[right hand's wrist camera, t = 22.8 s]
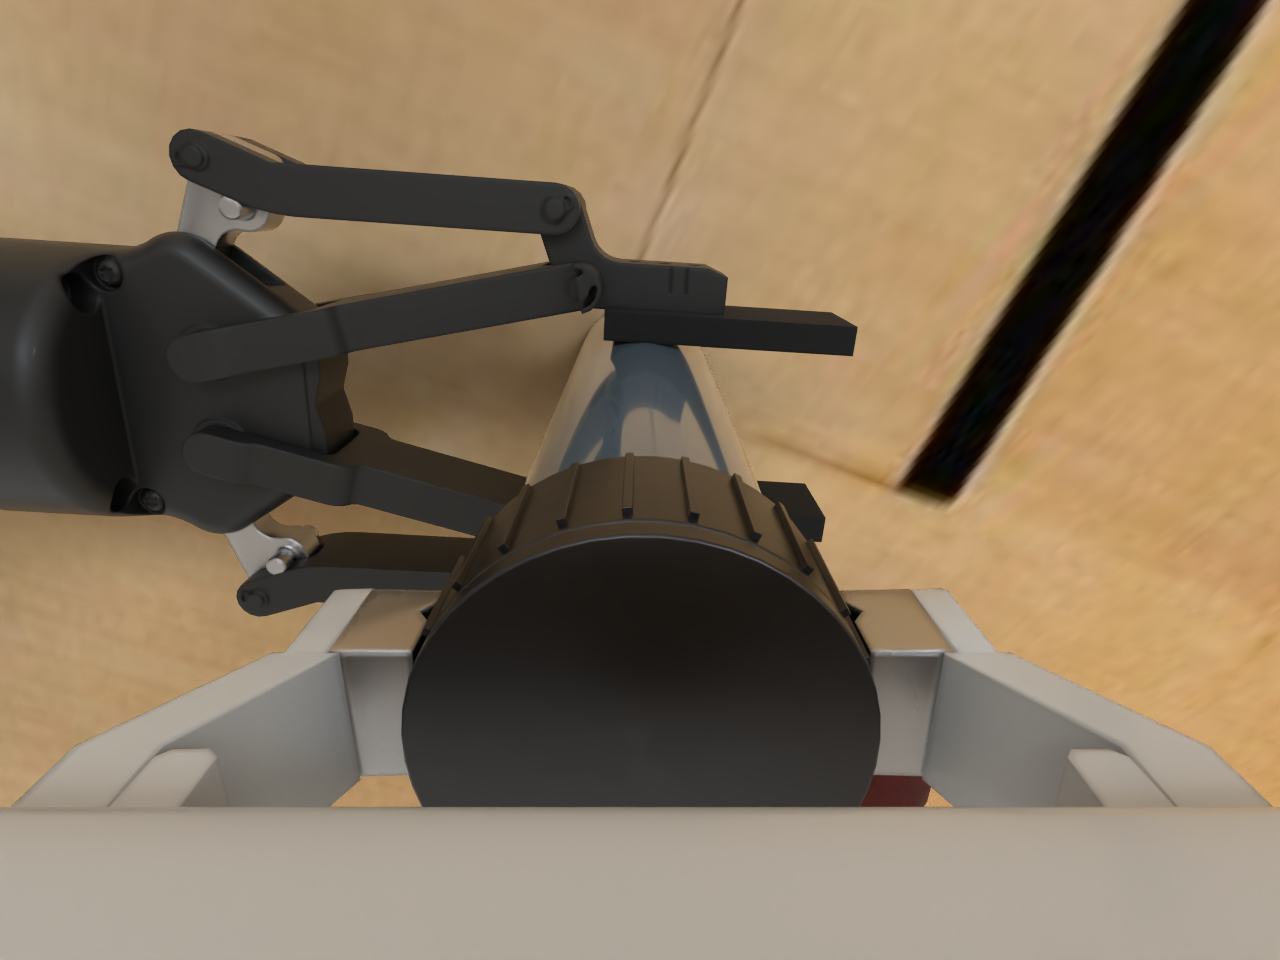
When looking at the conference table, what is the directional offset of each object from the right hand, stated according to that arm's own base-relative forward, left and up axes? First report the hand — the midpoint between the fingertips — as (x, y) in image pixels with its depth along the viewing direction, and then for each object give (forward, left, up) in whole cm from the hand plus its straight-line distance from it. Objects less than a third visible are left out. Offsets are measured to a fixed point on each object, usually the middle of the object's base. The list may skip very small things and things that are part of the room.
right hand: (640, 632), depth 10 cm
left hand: (-5, +1, -11) cm, 12 cm away
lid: (0, 0, +2) cm, 2 cm away
